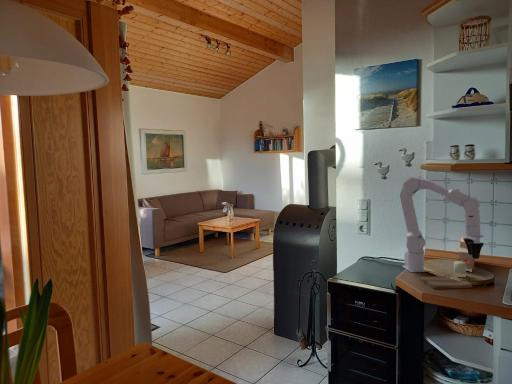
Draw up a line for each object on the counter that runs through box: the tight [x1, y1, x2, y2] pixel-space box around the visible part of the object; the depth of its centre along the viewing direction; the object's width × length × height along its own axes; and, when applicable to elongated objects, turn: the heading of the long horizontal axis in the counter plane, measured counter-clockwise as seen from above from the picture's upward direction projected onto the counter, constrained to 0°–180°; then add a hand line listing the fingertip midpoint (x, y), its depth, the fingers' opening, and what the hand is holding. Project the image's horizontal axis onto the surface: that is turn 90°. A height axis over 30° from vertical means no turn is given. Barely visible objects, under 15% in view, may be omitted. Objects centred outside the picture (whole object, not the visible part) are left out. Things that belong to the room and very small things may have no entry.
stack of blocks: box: [457, 236, 476, 270], centre depth 188 cm, size 21×6×12 cm, turn 149°
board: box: [419, 275, 473, 290], centre depth 165 cm, size 12×16×1 cm
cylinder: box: [453, 260, 467, 274], centre depth 174 cm, size 5×5×6 cm
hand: (473, 256), depth 168 cm, fingers open, 7 cm apart
